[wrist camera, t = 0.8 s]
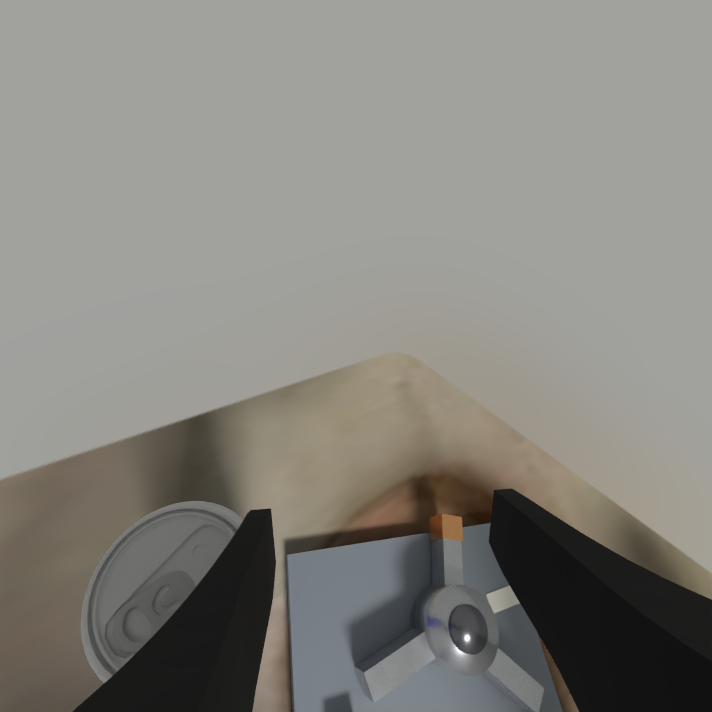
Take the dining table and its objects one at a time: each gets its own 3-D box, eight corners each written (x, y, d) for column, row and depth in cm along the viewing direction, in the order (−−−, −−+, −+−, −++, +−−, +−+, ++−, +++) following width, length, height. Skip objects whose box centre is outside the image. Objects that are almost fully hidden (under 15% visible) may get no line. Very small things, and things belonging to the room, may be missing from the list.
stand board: (574, 778, 23) (586, 785, 22) (301, 908, 17) (304, 924, 16) (494, 522, 30) (501, 521, 29) (285, 555, 25) (287, 554, 24)
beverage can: (219, 522, 24) (207, 462, 12) (265, 586, 23) (300, 590, 11) (143, 584, 22) (30, 585, 10) (191, 660, 20) (131, 772, 8)
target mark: (492, 613, 25) (493, 613, 25) (485, 594, 26) (486, 594, 26) (522, 601, 26) (522, 602, 26) (514, 583, 27) (515, 583, 27)
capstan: (528, 701, 23) (571, 717, 20) (364, 760, 20) (387, 792, 17) (473, 511, 29) (500, 503, 26) (338, 530, 25) (352, 523, 22)
